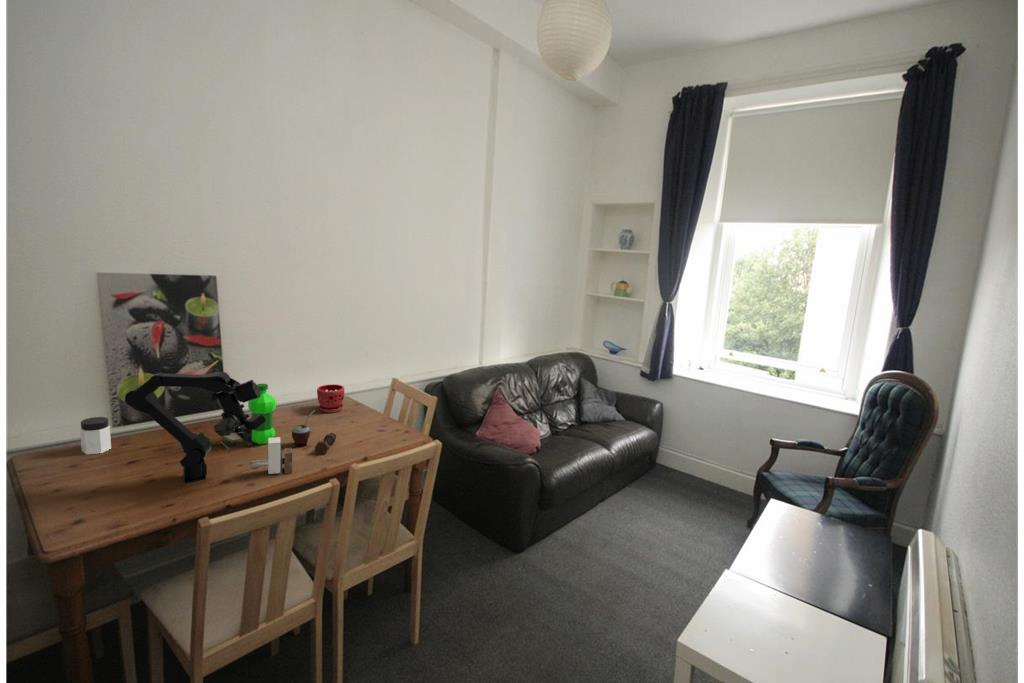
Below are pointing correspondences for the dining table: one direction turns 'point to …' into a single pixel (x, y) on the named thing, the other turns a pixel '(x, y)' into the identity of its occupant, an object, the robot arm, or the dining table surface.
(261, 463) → the pipe
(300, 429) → the mate gourd
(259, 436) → the plastic bottle
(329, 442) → the brown knobbed cylinder
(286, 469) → the pipe block
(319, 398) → the plant pot
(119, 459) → the dining table surface
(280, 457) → the white rectangular block
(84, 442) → the jar
